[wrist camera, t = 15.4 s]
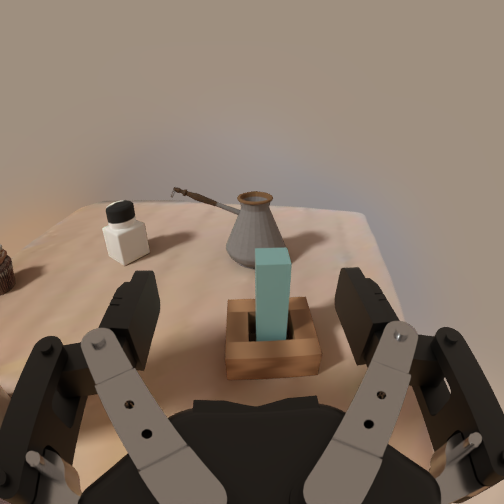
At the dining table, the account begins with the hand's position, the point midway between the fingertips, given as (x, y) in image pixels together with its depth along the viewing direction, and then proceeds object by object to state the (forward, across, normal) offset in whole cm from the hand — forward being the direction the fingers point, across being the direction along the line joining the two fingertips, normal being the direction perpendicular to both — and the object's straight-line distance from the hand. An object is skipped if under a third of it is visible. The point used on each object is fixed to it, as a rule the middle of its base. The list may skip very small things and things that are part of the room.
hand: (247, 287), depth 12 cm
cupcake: (+31, +56, +25) cm, 68 cm away
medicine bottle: (+44, +24, +24) cm, 56 cm away
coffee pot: (+41, +2, +24) cm, 47 cm away
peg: (+17, -4, +23) cm, 28 cm away
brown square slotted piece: (+17, -4, +23) cm, 28 cm away
